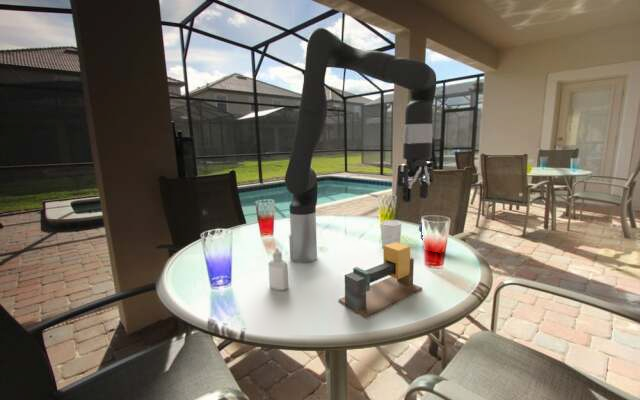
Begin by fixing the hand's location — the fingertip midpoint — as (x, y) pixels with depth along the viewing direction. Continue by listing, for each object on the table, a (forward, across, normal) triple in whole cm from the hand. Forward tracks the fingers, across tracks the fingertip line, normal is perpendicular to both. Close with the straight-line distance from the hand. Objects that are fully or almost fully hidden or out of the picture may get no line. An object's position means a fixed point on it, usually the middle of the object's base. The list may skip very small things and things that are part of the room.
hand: (415, 199), depth 84 cm
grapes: (+24, -28, -12) cm, 39 cm away
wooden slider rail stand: (+24, +14, 0) cm, 28 cm away
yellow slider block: (+20, +8, 0) cm, 22 cm away
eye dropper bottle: (+25, +32, -23) cm, 47 cm away
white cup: (+24, -19, -22) cm, 38 cm away
